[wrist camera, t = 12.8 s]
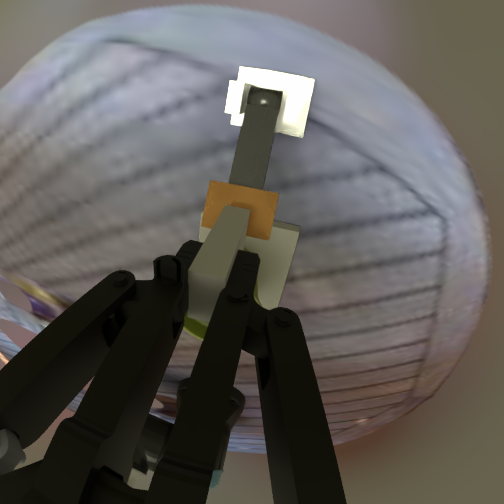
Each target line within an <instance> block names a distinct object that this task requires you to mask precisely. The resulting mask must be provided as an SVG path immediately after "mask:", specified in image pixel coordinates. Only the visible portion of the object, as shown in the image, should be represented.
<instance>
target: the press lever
mask: <svg viewBox="0 0 504 504" xmlns="http://www.w3.org/2000/svg"><path fill="white" fill-rule="evenodd" d="M282 96H283V91H278V90H273V89H267V88H261V87H254V86H251V88H250V90H249V94H248V99H247V105H246V109H245V113H244V118H243V122H242V126H241V130H240V134H239V139H238V143H237V147H236V152H235V156H234V161H233V165H232V170H231V174H230V179H229V183H223V182H217V181H212V180H210V184H209V188H208V193H207V198H206V203H205V208H204V213H203V218H202V223H201V227H206V228H210V229H212V227H213V225H214V224H215V222H216V220H217V219H218V217H219V215H220V213H221V212H222V210H223V208H224V207H225V205H229V206H234V207H239V208H244V209H249V210H250V216H249V221H248V227H247V233H246V236H249V237H254V238H258V239H263V240H268V241H269V239H270V234H271V229H272V225H273V220H274V215H275V210H276V206H277V201H278V196H279V193H274V192H269V191H265V190H263V187H264V182H265V177H266V173H267V168H268V163H269V158H270V154H271V149H272V144H273V139H274V135H275V130H276V125H277V120H278V116H279V112H280V107H281V102H282Z"/></svg>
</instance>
